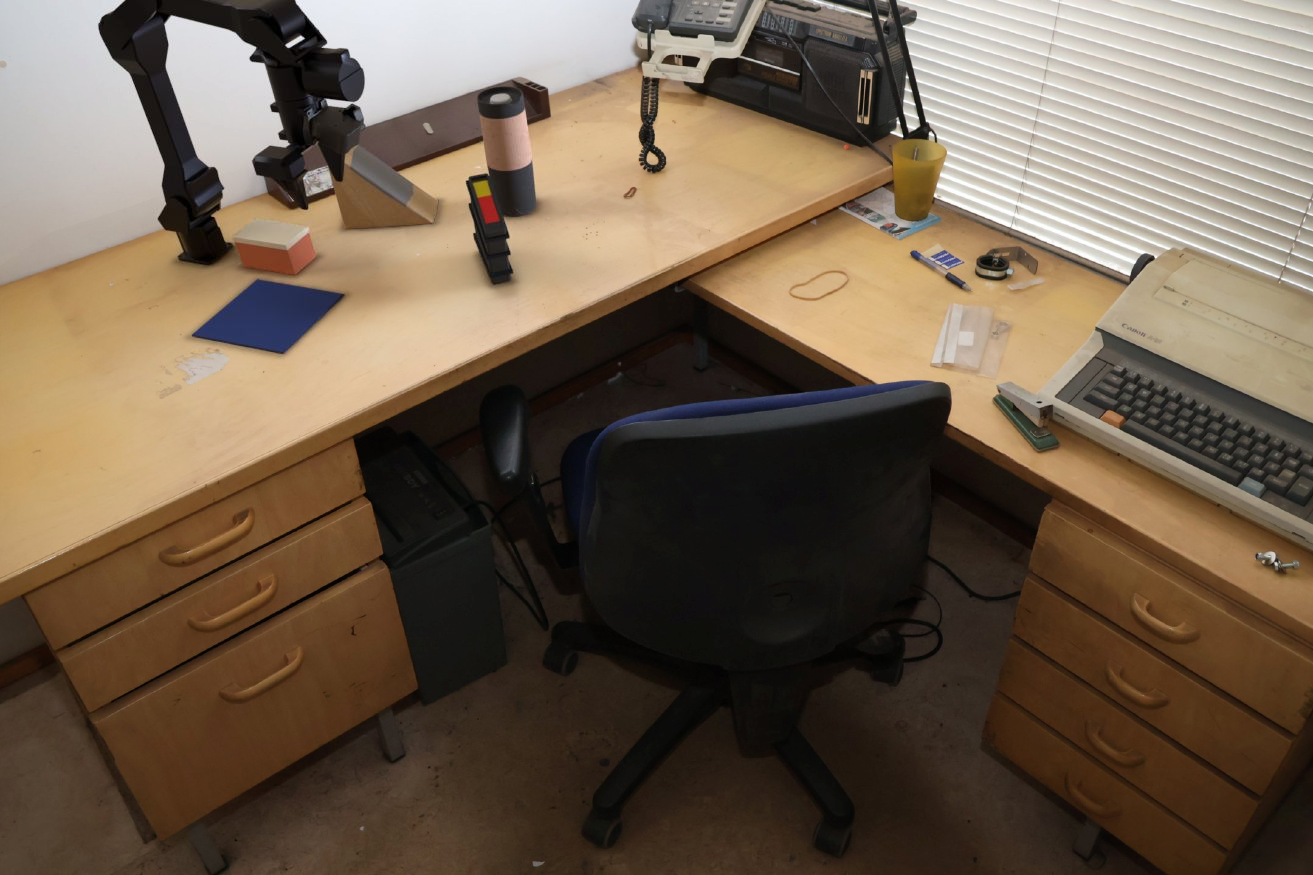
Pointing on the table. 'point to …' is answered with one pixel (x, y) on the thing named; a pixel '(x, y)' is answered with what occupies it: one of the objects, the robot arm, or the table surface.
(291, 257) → the box
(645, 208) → the table surface
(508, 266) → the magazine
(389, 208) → the sandwich container
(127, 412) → the table surface
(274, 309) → the blue cloth
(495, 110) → the travel mug
